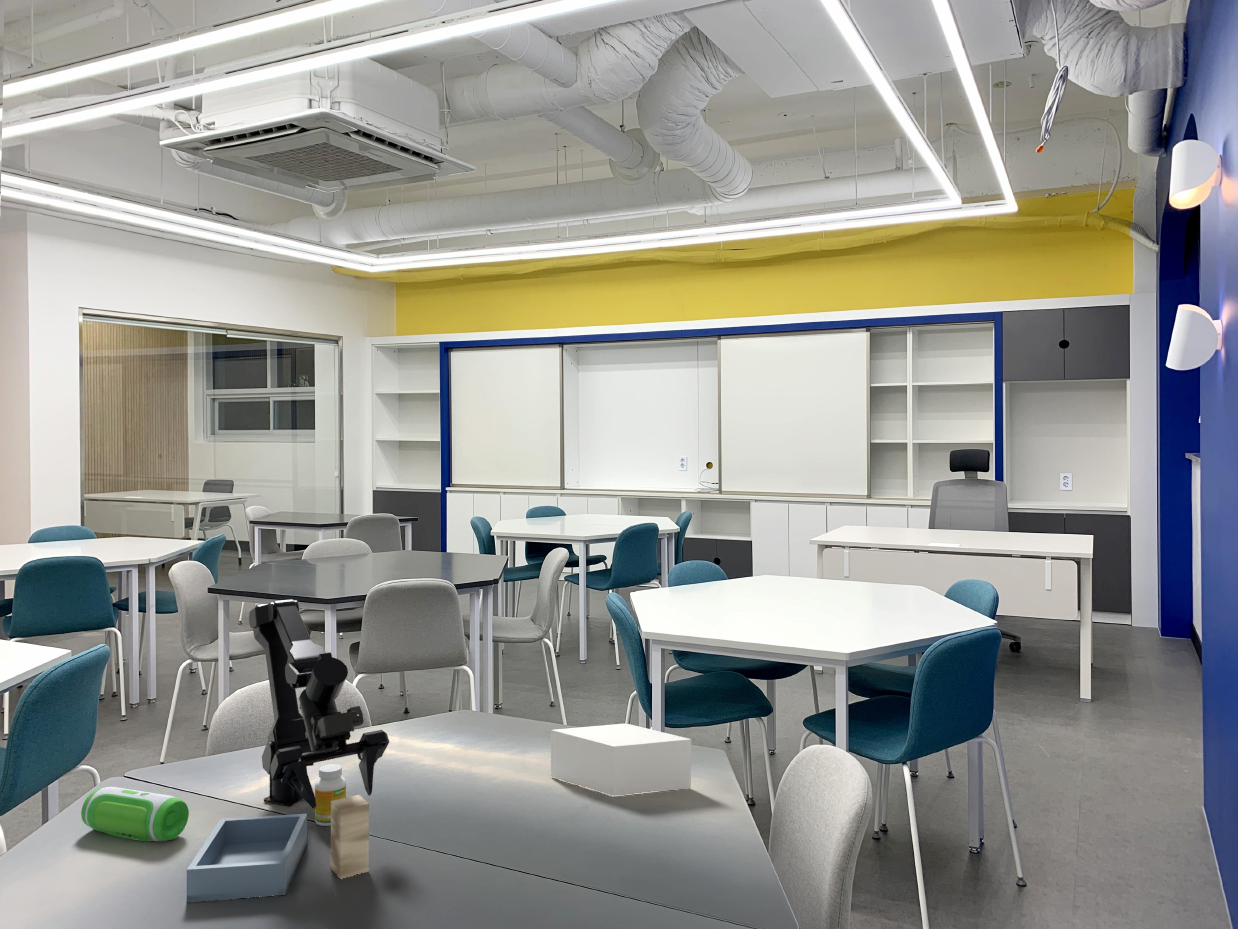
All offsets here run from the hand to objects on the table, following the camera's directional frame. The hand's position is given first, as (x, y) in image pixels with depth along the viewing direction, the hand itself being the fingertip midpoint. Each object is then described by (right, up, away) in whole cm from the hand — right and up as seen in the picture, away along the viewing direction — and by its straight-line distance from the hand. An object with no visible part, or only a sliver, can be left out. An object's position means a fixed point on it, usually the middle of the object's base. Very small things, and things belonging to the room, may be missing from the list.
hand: (343, 800), depth 143 cm
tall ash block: (+2, -10, -2) cm, 11 cm away
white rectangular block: (+46, -10, +35) cm, 58 cm away
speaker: (-40, -10, +10) cm, 42 cm away
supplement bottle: (-7, -10, +16) cm, 20 cm away
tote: (-14, -10, -3) cm, 17 cm away
